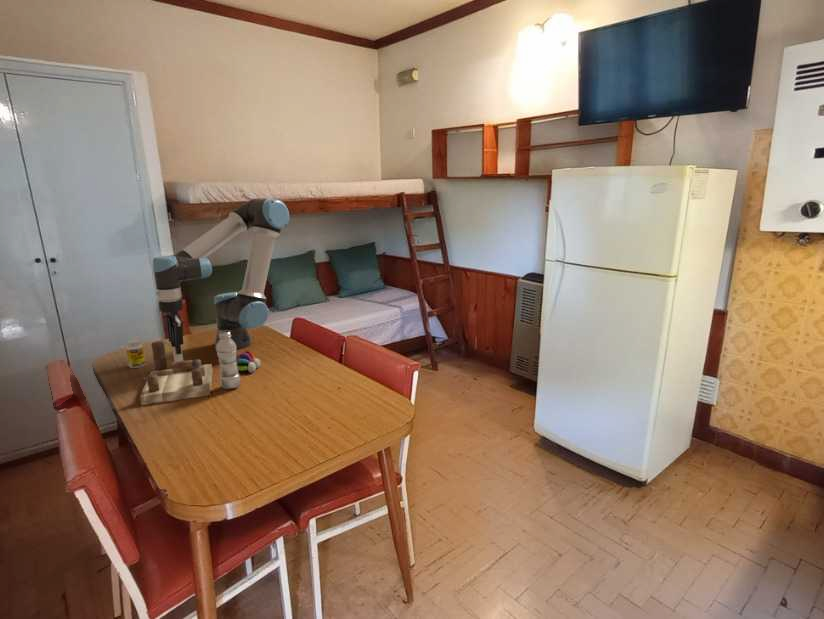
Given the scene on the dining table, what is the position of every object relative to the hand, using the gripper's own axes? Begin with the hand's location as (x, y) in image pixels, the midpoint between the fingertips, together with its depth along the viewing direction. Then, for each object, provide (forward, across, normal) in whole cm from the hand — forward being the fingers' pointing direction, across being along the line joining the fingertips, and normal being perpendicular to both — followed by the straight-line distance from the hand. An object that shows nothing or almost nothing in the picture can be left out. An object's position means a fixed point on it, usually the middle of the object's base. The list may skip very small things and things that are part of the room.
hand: (178, 361), depth 170 cm
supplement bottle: (+5, -20, -9) cm, 22 cm away
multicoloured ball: (+5, +15, +19) cm, 24 cm away
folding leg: (+1, +7, 0) cm, 7 cm away
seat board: (+5, +13, -5) cm, 15 cm away
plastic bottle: (+5, +26, +7) cm, 28 cm away
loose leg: (+5, -7, -4) cm, 10 cm away
